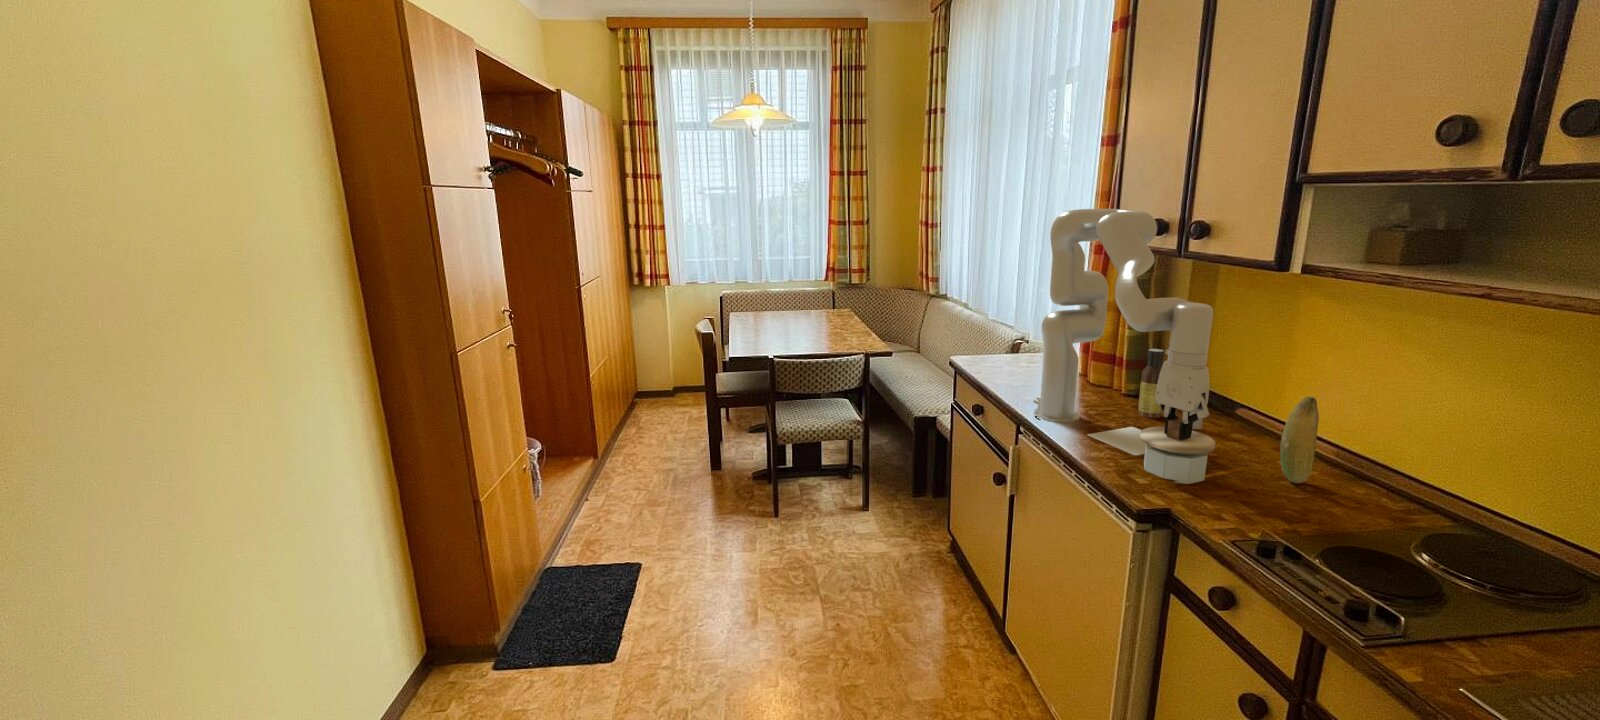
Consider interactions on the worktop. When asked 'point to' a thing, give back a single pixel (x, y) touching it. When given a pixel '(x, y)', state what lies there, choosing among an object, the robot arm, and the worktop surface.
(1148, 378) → the sauce bottle
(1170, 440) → the lid
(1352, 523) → the worktop surface
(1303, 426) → the vegetable
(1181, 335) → the robot arm
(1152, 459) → the bowl
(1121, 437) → the mat
